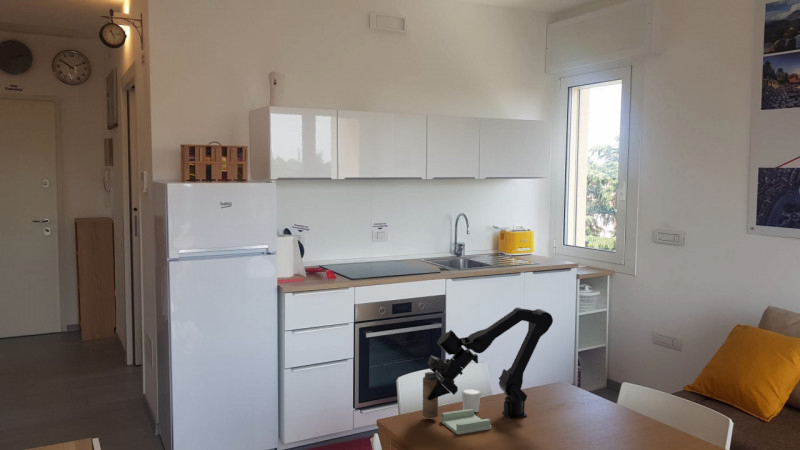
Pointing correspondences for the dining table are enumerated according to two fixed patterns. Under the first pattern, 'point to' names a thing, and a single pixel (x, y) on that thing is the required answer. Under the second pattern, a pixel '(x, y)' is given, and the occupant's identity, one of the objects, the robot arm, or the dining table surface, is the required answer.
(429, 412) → the pepper mill
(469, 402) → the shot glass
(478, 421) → the tray
